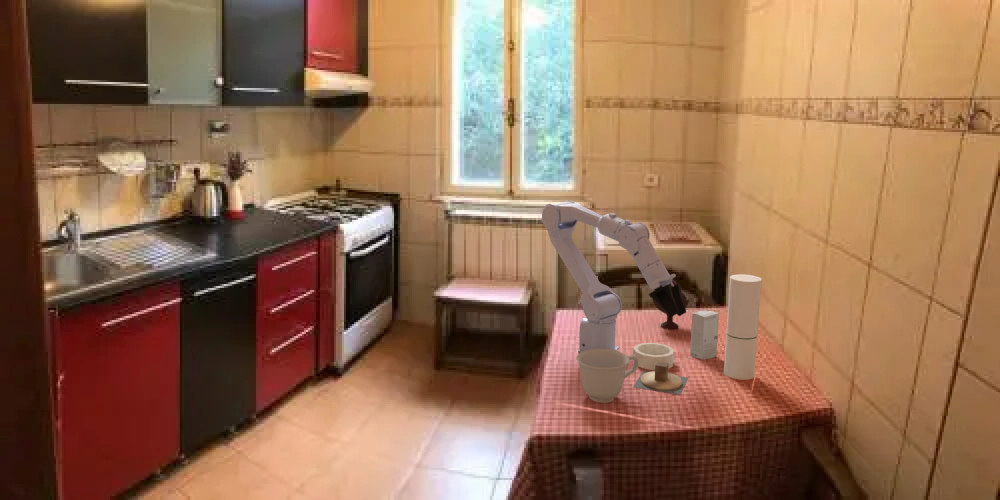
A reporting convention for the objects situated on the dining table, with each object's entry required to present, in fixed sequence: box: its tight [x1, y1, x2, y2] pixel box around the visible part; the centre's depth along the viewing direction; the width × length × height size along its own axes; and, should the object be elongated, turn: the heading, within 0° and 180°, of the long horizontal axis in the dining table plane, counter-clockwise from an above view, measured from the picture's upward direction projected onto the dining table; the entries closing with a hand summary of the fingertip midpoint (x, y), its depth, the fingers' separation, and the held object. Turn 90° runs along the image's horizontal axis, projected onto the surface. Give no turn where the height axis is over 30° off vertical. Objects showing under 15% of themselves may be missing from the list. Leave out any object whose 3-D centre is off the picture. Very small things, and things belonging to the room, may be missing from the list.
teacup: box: [575, 349, 639, 404], centre depth 152 cm, size 12×15×10 cm
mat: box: [632, 370, 689, 396], centre depth 160 cm, size 11×11×1 cm
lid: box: [641, 362, 682, 390], centre depth 160 cm, size 10×10×5 cm
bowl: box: [632, 342, 675, 371], centre depth 173 cm, size 10×10×4 cm
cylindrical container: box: [723, 273, 763, 381], centre depth 163 cm, size 7×7×25 cm
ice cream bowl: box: [652, 279, 690, 331], centre depth 201 cm, size 11×11×15 cm
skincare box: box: [689, 309, 720, 360], centre depth 177 cm, size 6×4×12 cm
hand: (679, 314), depth 162 cm, fingers open, 7 cm apart
